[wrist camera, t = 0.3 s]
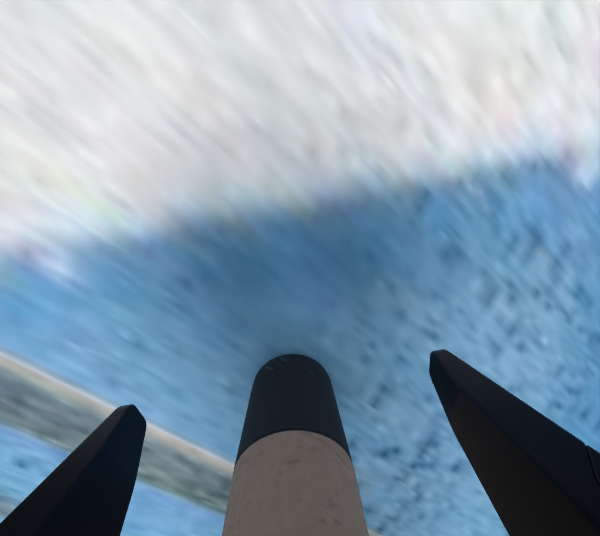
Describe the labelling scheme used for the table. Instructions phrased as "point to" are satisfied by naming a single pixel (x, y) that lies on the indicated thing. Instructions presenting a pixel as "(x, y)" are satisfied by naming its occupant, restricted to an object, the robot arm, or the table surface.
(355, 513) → the travel mug
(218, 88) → the table surface
